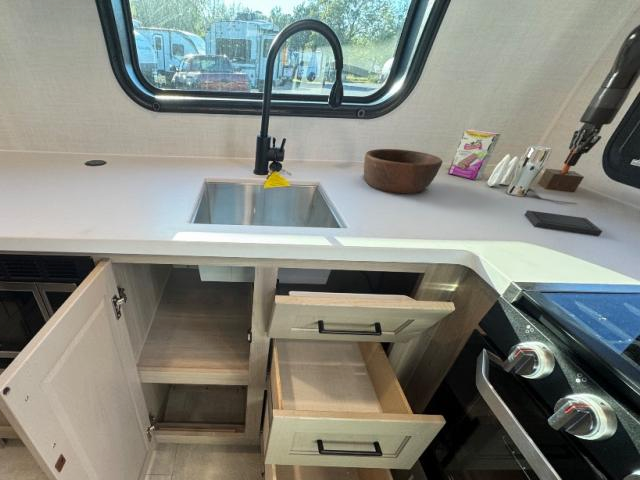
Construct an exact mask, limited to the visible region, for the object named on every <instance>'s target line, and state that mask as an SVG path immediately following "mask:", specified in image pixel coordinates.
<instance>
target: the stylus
mask: <svg viewBox="0 0 640 480" xmlns="http://www.w3.org/2000/svg"><path fill="white" fill-rule="evenodd" d="M574 151H575V149H574ZM574 151H573V152H572V154H574ZM572 154H571V156H572ZM571 156H570V157H571ZM569 159H570V158H569ZM569 159H568V161H569ZM568 161H567V162H568ZM571 167H572V166H568V165H567V163H566V164H564V166H563V168H562V169H561V170H562V171H561V173H567V172H568V171H570V168H571Z"/></svg>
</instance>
